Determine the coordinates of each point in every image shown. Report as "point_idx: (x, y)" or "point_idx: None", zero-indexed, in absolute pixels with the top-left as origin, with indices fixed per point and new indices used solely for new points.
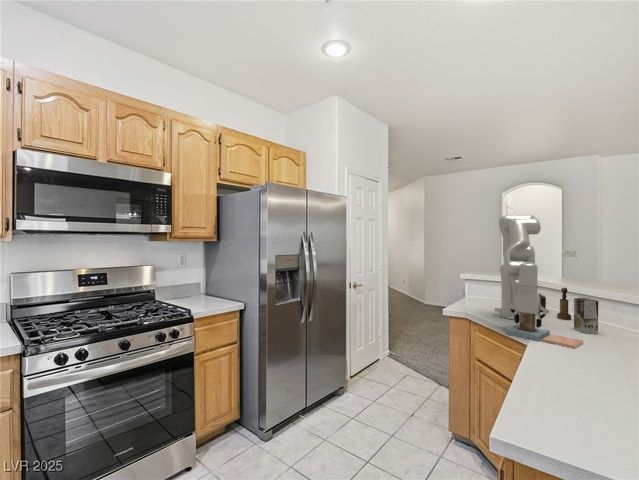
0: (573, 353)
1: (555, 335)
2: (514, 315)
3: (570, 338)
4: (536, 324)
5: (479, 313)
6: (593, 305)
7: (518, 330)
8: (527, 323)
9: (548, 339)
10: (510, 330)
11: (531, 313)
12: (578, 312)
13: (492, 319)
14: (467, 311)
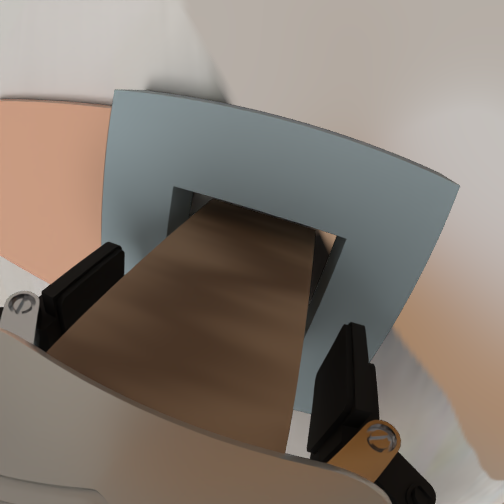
0: (9, 8)
1: None
2: (378, 422)
3: (24, 259)
4: (102, 262)
5: (459, 499)
6: None
7: (321, 182)
8: (198, 268)
9: (77, 127)
10: (407, 162)
11: (30, 347)
12: None
13: (438, 471)
14: (494, 492)
